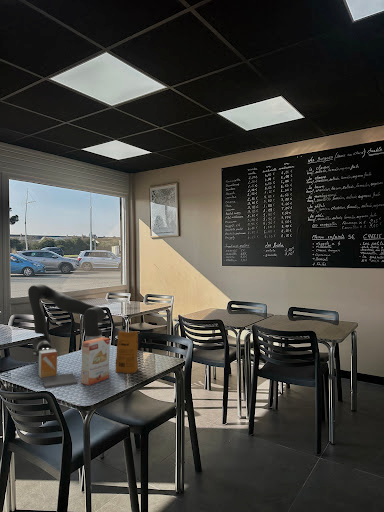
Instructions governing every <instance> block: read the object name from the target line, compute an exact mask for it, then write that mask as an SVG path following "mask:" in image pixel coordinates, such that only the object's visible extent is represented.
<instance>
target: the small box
mask: <svg viewBox="0 0 384 512" xmlns="http://www.w3.org/2000/svg"><path fill="white" fill-rule="evenodd" d="M55 349H56V348H52V350H44V351H39V356H38V376H39V378H40V379H42V377H47V376H55V375H58V372H57V371H58V350H57V351H56V350H55Z"/></svg>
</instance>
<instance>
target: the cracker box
mask: <svg viewBox="0 0 384 512" xmlns="http://www.w3.org/2000/svg"><path fill="white" fill-rule="evenodd" d="M110 339H111V338H109V337H103V336H102V337H101V338H97V339H93V340H88V341H86V340H85V341H81V371H80V372H81V378H80V379H81V380H80V381H81V384H84V385H85V386H91V385H93V384H96V383H99V382H101V381H104V380H107V379H109V378H110V353H111V350H110V347H111V345H110V344H111V341H110Z"/></svg>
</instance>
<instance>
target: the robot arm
mask: <svg viewBox="0 0 384 512" xmlns="http://www.w3.org/2000/svg"><path fill="white" fill-rule="evenodd" d="M27 291H28V292H27V294H28V295H27V296H28V299H29V302H30V303H29V304H30V308H31V312H32V315H33V324H34V332H35V334H39V335H43V336H39V337H38V336H37V337H35V338H33V340H32V348H33V349H34V350H33V357H34V356H35V357H39V351H44V350H52V349H53V348H52V346H51V345H52V340H51V337H50V335H49V332H48V326H47V325H48V323H47V318H46V315H45V313H44V311H43V310H42V308H41V305H40V300H47V301H51V302H52V303H54V305H55V307H56V308H58V309H59V310H61V311H64V312H66V313H70V314H76V315H83V329H84V332H85V341H88V340H93V339H97V338H101V337H103V331H102V329H101V328H99V323H100V322H102V321H103V320H104V319H106V318H105V317H106V313H105V312H106V311H104V309H103V308H102V307H99V306H95V305H93V304H89V303H86V302H84V301H82V300H79V299H77V298H75V297H73V296H70V295H68V294H66V293H63V292H60V291H57V290H55V289H53V288H51V287H50V286H49V285H46V284H41V283H40V284H33V285H31V286H30V287H29V288H28V290H27ZM54 349H55V350H56V351H57V352H58V348H54Z"/></svg>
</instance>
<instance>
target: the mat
mask: <svg viewBox="0 0 384 512" xmlns="http://www.w3.org/2000/svg"><path fill="white" fill-rule="evenodd" d="M41 380H42V383H43V387H44V389H50V388H55V387H57V388H58V387H62V386H64V387H65V386H70V385H77V384H78V380H77V378H76V377H75V375H74V373H73V372H71V373H63V374H57V375H55V376H47V377H42V378H41Z"/></svg>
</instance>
